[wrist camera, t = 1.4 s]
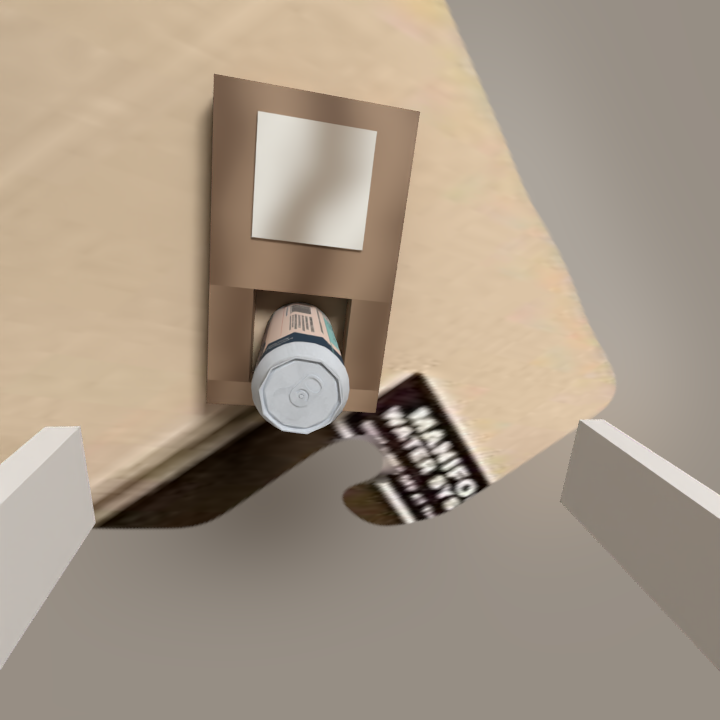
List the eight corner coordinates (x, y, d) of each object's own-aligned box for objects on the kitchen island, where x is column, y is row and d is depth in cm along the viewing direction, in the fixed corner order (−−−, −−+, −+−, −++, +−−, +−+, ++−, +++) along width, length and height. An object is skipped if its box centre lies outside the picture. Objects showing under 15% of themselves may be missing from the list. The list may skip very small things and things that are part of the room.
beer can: (252, 331, 31) (226, 396, 20) (300, 286, 30) (302, 326, 19) (298, 376, 32) (299, 460, 21) (345, 334, 32) (372, 397, 21)
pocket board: (212, 391, 32) (206, 404, 29) (220, 85, 26) (213, 72, 24) (370, 400, 34) (375, 413, 32) (410, 119, 28) (420, 111, 26)
